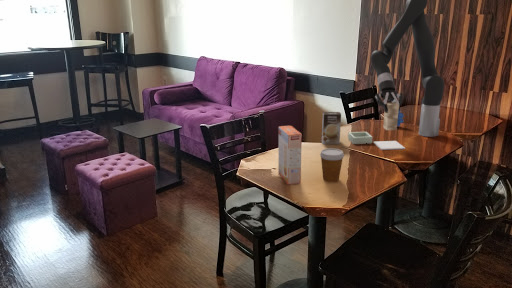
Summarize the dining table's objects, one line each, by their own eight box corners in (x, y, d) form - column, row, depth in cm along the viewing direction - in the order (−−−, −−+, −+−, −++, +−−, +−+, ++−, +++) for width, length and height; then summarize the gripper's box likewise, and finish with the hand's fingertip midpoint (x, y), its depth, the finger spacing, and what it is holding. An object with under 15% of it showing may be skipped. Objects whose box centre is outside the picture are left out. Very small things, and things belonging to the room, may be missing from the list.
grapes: (381, 125, 238) (382, 106, 234) (386, 123, 242) (387, 104, 239) (399, 128, 230) (401, 109, 227) (404, 126, 235) (406, 106, 231)
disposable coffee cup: (316, 175, 164) (317, 148, 161) (339, 174, 165) (340, 147, 162) (322, 184, 155) (323, 156, 152) (345, 183, 156) (347, 155, 152)
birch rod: (392, 127, 200) (395, 102, 196) (396, 130, 196) (399, 104, 192) (383, 127, 200) (385, 102, 196) (386, 130, 195) (389, 104, 191)
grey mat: (395, 141, 206) (395, 140, 206) (405, 149, 195) (405, 147, 195) (373, 142, 206) (373, 141, 206) (381, 149, 195) (381, 148, 194)
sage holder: (366, 137, 215) (366, 131, 214) (372, 143, 205) (372, 136, 204) (348, 138, 214) (348, 132, 213) (353, 143, 205) (353, 137, 204)
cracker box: (301, 183, 157) (302, 133, 150) (287, 185, 156) (287, 134, 149) (291, 171, 170) (291, 124, 164) (278, 172, 169) (277, 125, 162)
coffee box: (322, 144, 206) (323, 114, 201) (321, 140, 212) (322, 111, 207) (340, 144, 205) (341, 114, 200) (338, 140, 211) (339, 111, 206)
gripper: (374, 79, 198) (380, 108, 190) (402, 79, 199) (409, 107, 191) (370, 88, 205) (376, 116, 197) (397, 87, 205) (404, 115, 197)
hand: (392, 111), depth 194 cm, fingers closed on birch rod, 5 cm apart
